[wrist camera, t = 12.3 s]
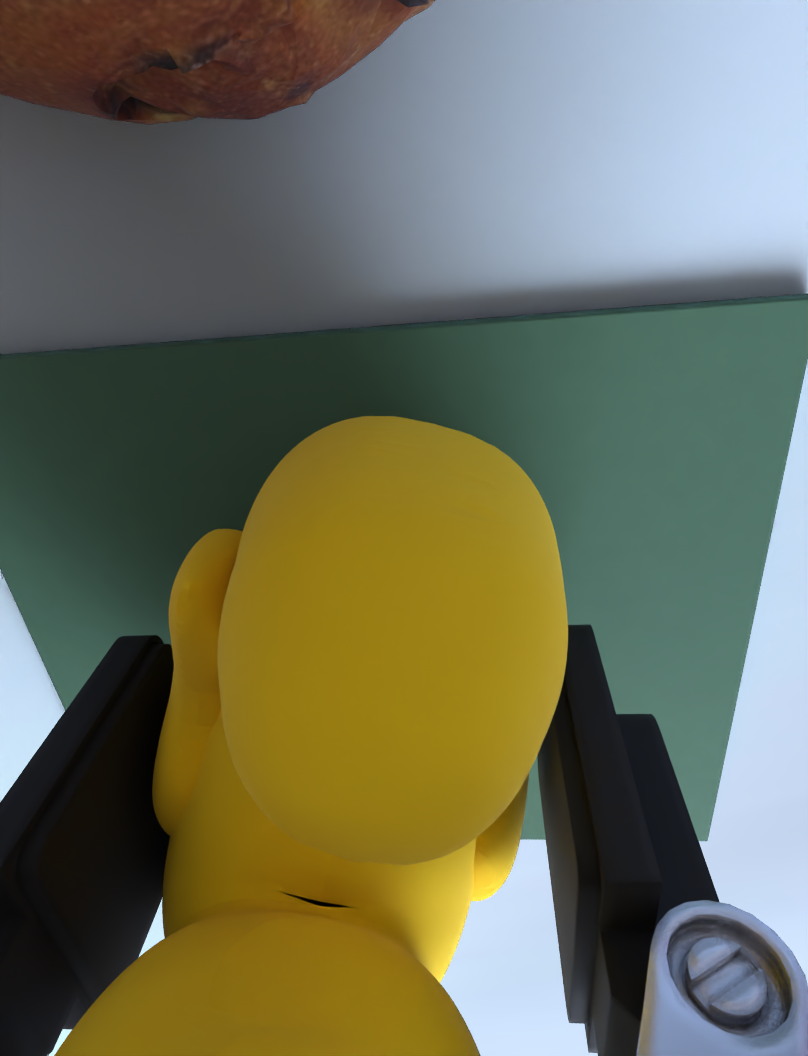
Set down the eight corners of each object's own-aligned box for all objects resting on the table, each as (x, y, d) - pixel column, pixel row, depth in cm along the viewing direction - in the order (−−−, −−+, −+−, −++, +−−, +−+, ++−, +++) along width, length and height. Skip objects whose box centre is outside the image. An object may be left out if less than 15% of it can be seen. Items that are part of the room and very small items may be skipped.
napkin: (-81, 360, 10) (-94, 366, 10) (810, 293, 9) (822, 296, 9) (127, 824, 16) (121, 835, 15) (703, 828, 14) (707, 841, 14)
